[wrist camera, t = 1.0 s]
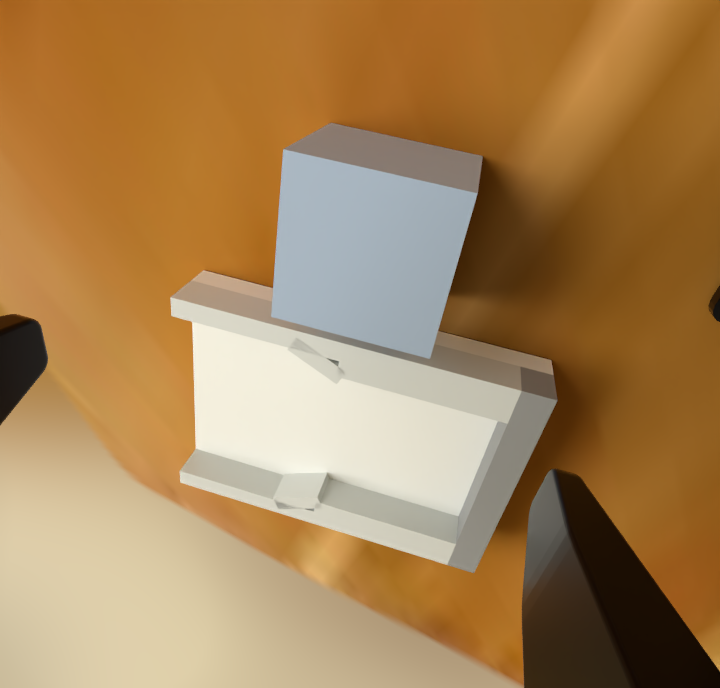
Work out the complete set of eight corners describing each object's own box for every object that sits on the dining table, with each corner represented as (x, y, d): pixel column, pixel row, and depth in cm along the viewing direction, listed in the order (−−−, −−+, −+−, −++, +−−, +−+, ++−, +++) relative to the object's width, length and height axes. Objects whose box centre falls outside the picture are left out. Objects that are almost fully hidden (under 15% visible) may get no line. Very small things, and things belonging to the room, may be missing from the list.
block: (483, 155, 16) (477, 193, 12) (443, 293, 19) (430, 358, 15) (331, 122, 17) (283, 149, 13) (314, 261, 19) (271, 316, 16)
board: (551, 360, 19) (557, 400, 17) (476, 527, 25) (473, 573, 23) (203, 270, 21) (170, 297, 19) (205, 446, 26) (180, 482, 24)
